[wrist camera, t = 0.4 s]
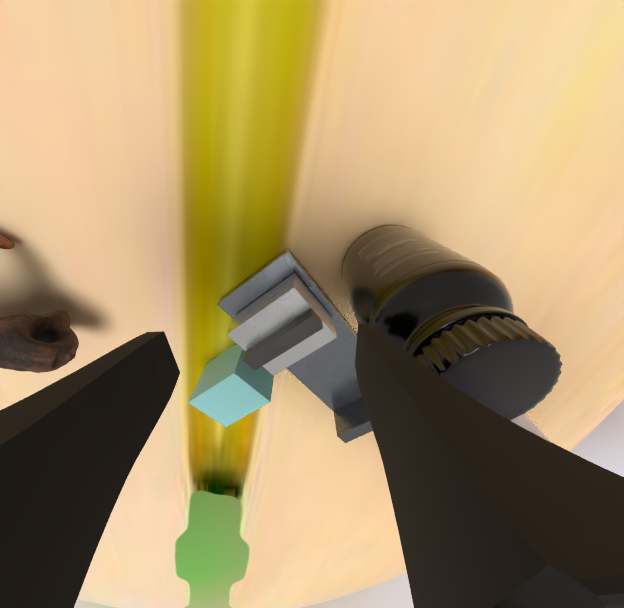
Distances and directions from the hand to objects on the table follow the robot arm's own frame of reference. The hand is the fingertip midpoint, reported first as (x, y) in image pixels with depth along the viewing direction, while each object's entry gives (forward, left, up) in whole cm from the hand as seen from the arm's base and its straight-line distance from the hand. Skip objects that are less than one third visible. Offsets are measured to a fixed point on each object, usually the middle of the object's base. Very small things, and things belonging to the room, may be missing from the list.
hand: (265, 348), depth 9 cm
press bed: (-8, +3, -10) cm, 14 cm away
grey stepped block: (-3, +3, -10) cm, 11 cm away
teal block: (-5, +10, -10) cm, 15 cm away
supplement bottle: (-5, -6, -10) cm, 13 cm away
